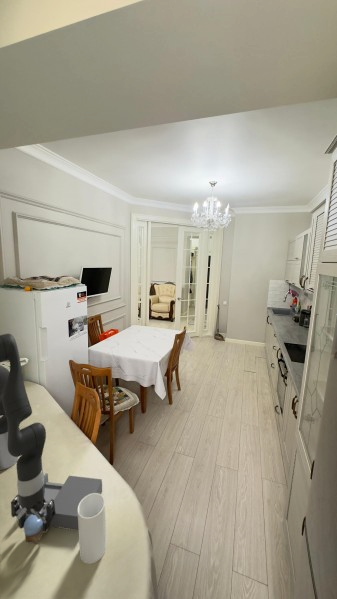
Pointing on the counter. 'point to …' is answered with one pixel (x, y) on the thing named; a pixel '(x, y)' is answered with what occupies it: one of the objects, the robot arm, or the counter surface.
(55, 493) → the tray
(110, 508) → the counter surface
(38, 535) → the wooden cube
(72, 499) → the housing
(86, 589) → the counter surface
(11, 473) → the counter surface
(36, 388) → the counter surface
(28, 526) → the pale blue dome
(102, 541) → the cup
